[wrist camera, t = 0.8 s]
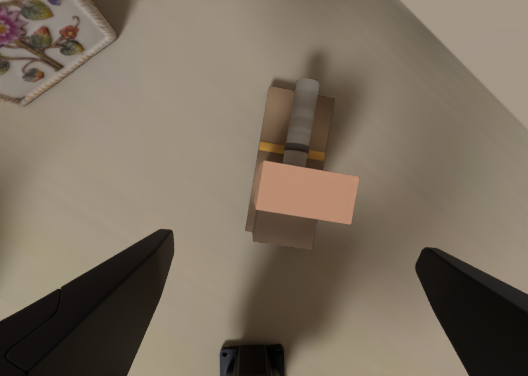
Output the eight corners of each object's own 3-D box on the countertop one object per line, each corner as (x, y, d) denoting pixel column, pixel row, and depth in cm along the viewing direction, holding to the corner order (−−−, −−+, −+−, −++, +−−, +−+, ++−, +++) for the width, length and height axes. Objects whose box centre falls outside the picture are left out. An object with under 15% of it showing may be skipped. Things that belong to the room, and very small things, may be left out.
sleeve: (314, 208, 24) (351, 224, 16) (253, 197, 24) (255, 209, 15) (320, 177, 24) (359, 176, 16) (258, 166, 24) (263, 160, 15)
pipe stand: (306, 237, 26) (320, 251, 21) (245, 228, 26) (244, 240, 21) (330, 102, 26) (349, 85, 21) (268, 90, 25) (273, 69, 20)
